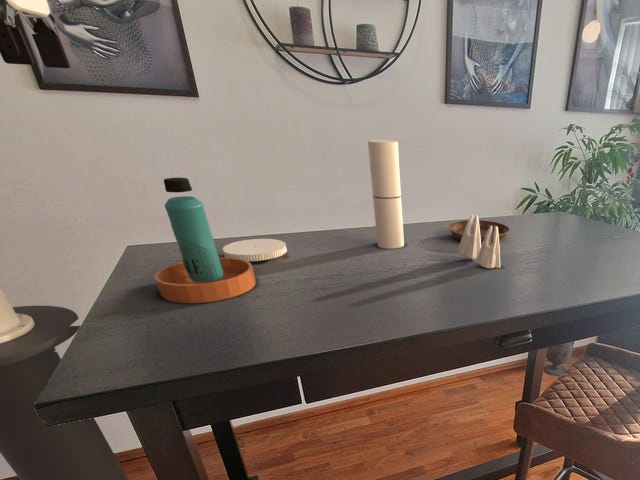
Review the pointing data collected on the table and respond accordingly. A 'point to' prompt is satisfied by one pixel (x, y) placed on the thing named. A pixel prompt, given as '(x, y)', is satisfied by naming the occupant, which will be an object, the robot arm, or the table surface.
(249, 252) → the plastic lid
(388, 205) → the cylindrical container
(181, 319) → the table surface
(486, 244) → the shaker set
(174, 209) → the beverage bottle
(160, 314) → the table surface
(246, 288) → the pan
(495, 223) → the plant saucer
